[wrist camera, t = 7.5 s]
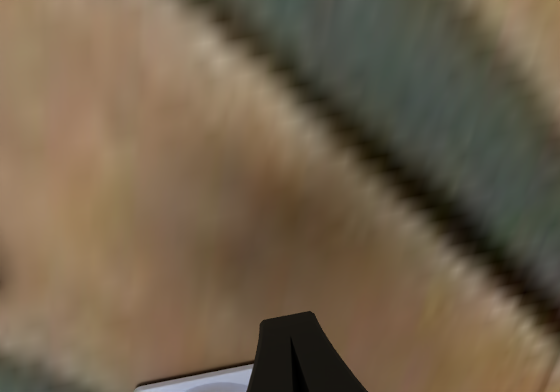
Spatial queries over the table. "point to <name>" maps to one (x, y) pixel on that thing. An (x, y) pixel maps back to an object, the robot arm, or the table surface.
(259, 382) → the robot arm
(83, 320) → the table surface
